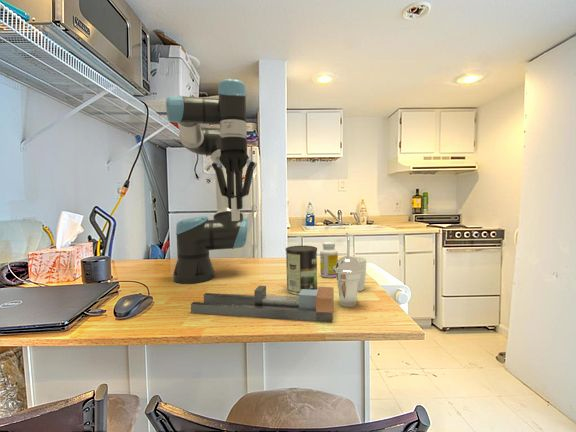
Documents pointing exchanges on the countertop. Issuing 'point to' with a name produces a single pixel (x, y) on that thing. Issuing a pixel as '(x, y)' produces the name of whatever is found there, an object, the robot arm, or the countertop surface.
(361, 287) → the white cup
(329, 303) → the channel
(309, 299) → the block
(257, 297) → the silver metal slider block
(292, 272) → the coffee can
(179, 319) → the countertop surface
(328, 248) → the supplement bottle
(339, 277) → the cup with straw
